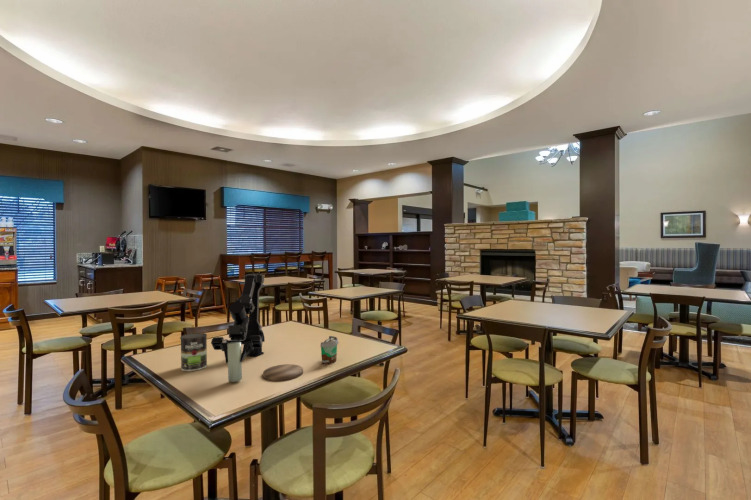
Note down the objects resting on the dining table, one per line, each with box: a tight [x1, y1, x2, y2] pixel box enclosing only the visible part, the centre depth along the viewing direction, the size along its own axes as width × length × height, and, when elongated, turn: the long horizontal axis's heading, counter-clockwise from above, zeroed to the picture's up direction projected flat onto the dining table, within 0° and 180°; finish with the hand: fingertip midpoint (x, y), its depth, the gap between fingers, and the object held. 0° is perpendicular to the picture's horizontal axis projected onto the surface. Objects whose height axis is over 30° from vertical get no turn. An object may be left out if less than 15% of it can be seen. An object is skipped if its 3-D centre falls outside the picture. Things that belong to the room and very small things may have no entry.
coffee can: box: [180, 332, 208, 372], centre depth 157 cm, size 10×10×14 cm
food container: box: [320, 335, 340, 365], centre depth 163 cm, size 12×6×10 cm, turn 168°
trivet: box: [262, 363, 304, 382], centre depth 148 cm, size 16×16×1 cm
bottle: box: [227, 342, 243, 383], centre depth 140 cm, size 5×5×14 cm
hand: (233, 362), depth 139 cm, fingers closed on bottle, 5 cm apart
